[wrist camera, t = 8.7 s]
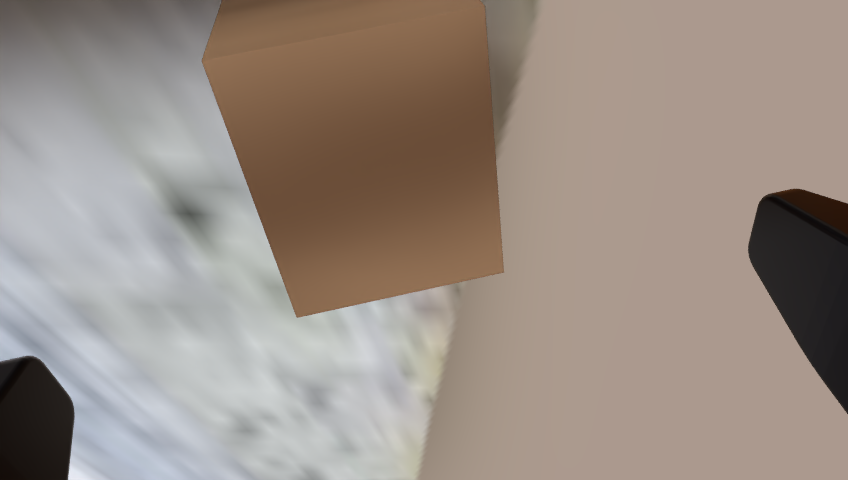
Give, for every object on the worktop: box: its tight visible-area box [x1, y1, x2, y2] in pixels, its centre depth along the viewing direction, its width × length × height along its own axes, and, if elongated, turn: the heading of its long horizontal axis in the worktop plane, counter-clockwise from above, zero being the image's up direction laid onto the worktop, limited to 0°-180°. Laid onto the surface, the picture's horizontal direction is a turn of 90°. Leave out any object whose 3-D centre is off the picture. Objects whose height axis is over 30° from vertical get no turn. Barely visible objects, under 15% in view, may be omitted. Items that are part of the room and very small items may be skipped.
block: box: [202, 0, 504, 318], centre depth 12 cm, size 5×4×6 cm
